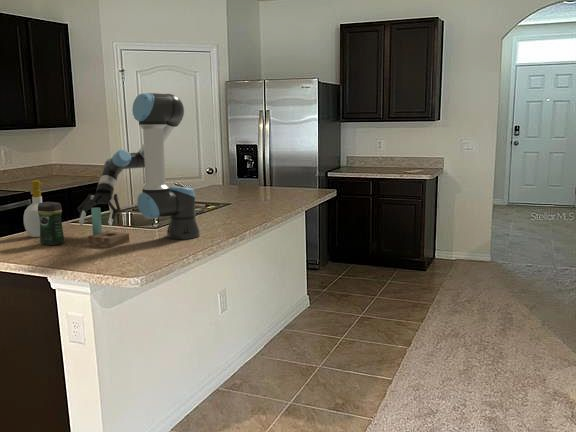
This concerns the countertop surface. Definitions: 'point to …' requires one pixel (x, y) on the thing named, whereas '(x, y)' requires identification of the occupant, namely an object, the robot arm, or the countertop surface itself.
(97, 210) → the dowel
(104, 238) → the bore block
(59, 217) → the coffee jar
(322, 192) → the countertop surface
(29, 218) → the soap bottle
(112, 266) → the countertop surface
